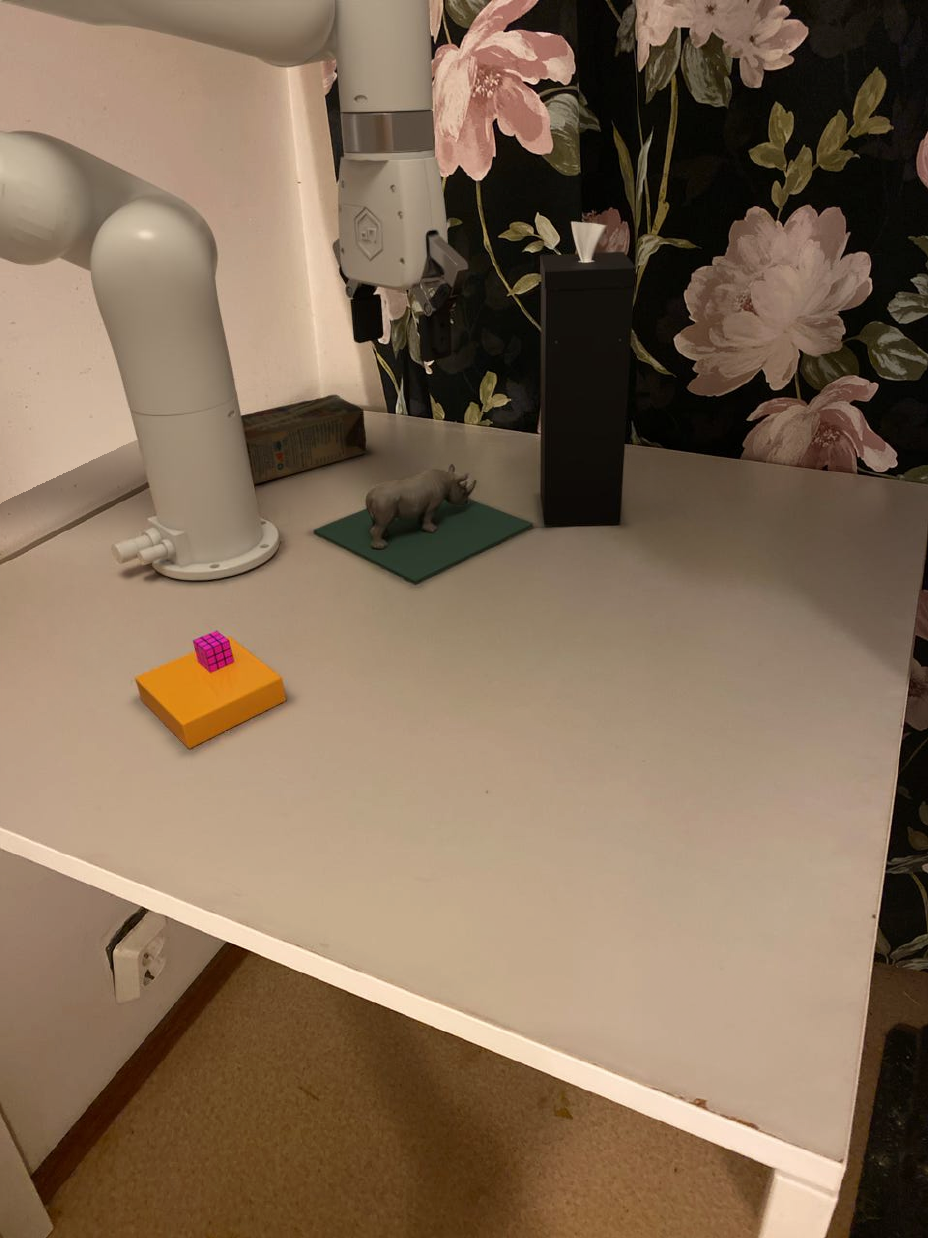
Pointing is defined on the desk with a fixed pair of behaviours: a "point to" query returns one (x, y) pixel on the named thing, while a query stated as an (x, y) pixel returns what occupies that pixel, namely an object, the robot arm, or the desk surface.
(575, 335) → the tissue box
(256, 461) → the beverage carton
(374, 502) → the rhino figurine
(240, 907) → the desk surface
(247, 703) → the orange block
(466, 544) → the mat
